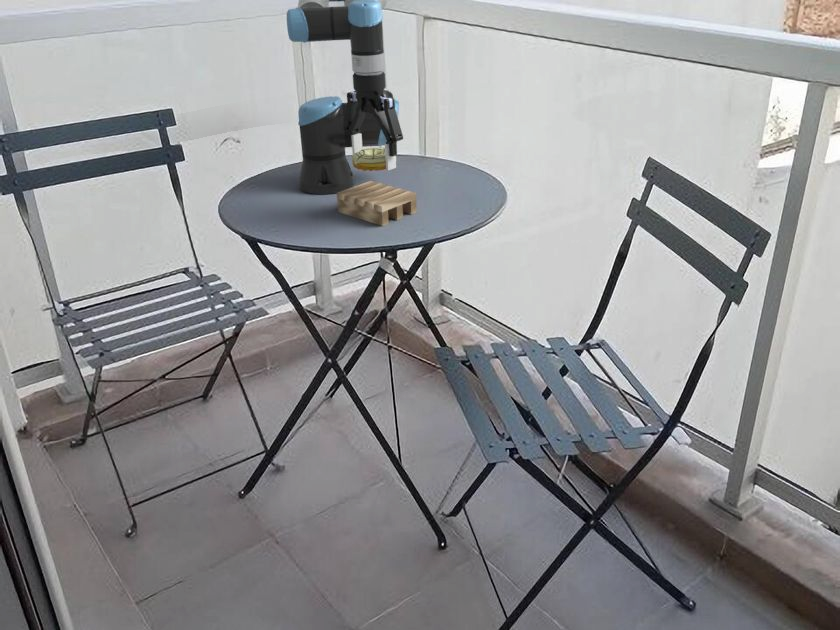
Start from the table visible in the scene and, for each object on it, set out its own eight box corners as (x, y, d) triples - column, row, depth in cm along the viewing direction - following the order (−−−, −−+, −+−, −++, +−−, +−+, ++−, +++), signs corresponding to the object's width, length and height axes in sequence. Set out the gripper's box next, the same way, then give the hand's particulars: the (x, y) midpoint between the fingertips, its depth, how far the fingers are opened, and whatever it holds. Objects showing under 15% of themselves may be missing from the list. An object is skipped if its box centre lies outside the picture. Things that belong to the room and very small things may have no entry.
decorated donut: (354, 161, 204) (353, 146, 202) (397, 159, 204) (396, 144, 202) (351, 173, 194) (350, 157, 193) (396, 171, 194) (395, 156, 193)
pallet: (338, 211, 206) (336, 192, 203) (372, 199, 213) (371, 180, 211) (382, 226, 196) (381, 206, 194) (416, 212, 204) (416, 193, 201)
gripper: (323, 69, 194) (331, 159, 204) (393, 80, 179) (397, 177, 189) (346, 64, 198) (353, 152, 208) (416, 74, 184) (419, 169, 194)
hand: (374, 164), depth 199 cm, fingers closed on decorated donut, 11 cm apart
